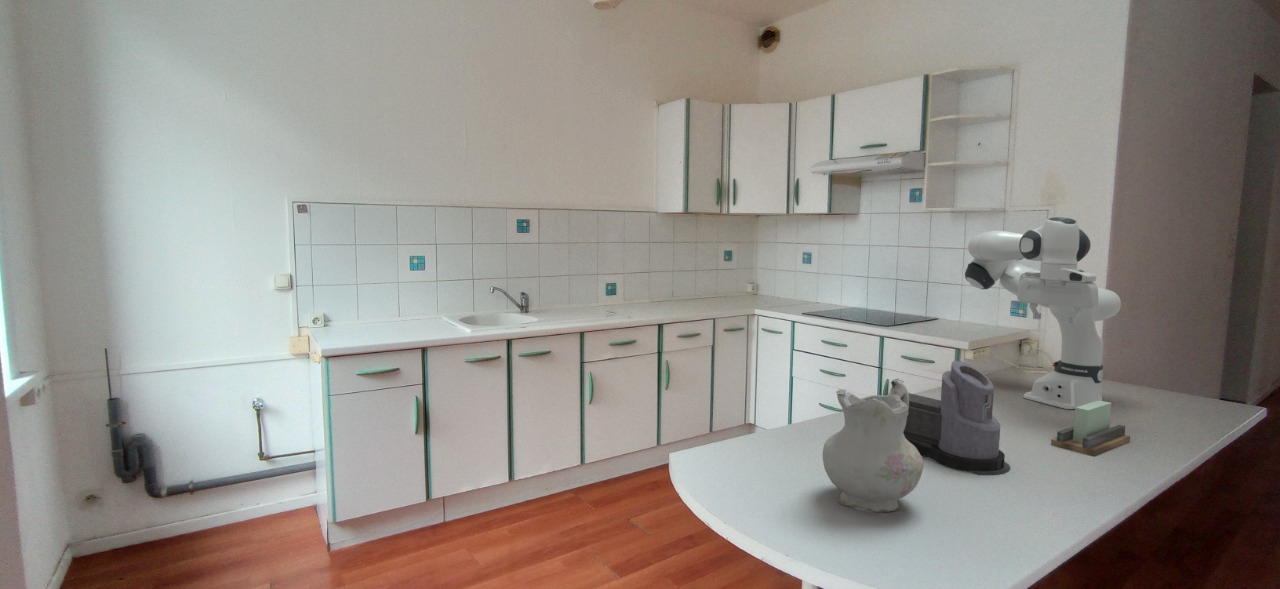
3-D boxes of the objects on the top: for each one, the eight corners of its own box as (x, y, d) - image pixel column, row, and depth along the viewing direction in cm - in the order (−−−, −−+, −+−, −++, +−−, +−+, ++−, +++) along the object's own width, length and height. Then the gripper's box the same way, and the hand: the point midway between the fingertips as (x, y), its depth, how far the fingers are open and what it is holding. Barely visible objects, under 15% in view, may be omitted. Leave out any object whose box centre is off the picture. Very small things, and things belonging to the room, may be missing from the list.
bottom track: (1050, 444, 168) (1052, 430, 167) (1088, 431, 179) (1089, 418, 179) (1093, 456, 159) (1095, 440, 159) (1129, 441, 171) (1131, 427, 171)
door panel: (1072, 440, 167) (1075, 407, 166) (1096, 432, 174) (1098, 400, 173) (1085, 443, 164) (1088, 410, 163) (1108, 435, 172) (1111, 402, 171)
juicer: (1022, 466, 152) (1029, 366, 150) (989, 480, 143) (996, 375, 140) (907, 433, 176) (912, 347, 174) (873, 444, 167) (878, 353, 165)
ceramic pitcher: (849, 478, 146) (845, 372, 145) (939, 494, 133) (935, 378, 132) (809, 509, 129) (804, 389, 128) (908, 531, 117) (903, 399, 115)
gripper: (1014, 271, 188) (1011, 317, 190) (1093, 276, 171) (1088, 326, 173) (1025, 271, 192) (1021, 316, 193) (1103, 275, 175) (1098, 324, 176)
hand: (1054, 321), depth 183 cm, fingers open, 8 cm apart
